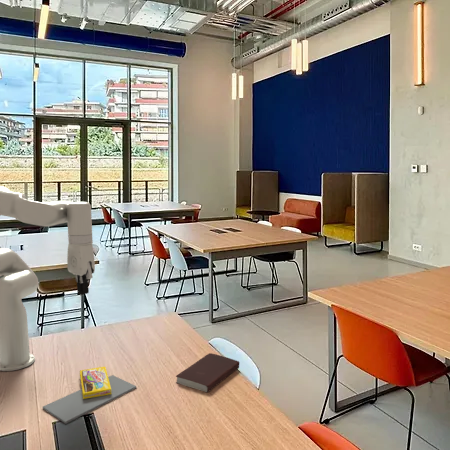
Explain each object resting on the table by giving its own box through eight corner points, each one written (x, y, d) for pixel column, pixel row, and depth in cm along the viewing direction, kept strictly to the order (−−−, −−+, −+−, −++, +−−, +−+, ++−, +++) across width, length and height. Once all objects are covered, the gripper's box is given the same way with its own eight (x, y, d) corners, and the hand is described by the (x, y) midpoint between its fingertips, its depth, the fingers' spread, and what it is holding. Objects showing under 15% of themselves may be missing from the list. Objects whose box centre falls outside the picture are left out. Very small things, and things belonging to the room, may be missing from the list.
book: (240, 369, 147) (239, 360, 146) (208, 394, 131) (207, 384, 130) (209, 361, 153) (209, 352, 153) (175, 384, 137) (174, 374, 137)
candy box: (79, 369, 141) (105, 365, 144) (79, 375, 141) (105, 372, 144) (82, 393, 126) (112, 388, 129) (82, 400, 126) (112, 395, 129)
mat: (42, 408, 123) (42, 406, 123) (112, 376, 142) (112, 375, 142) (65, 423, 116) (65, 421, 116) (136, 388, 134) (136, 386, 134)
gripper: (58, 238, 145) (61, 291, 147) (82, 243, 135) (84, 300, 137) (79, 235, 150) (81, 287, 153) (103, 240, 140) (105, 295, 143)
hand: (83, 293), depth 145 cm, fingers closed
